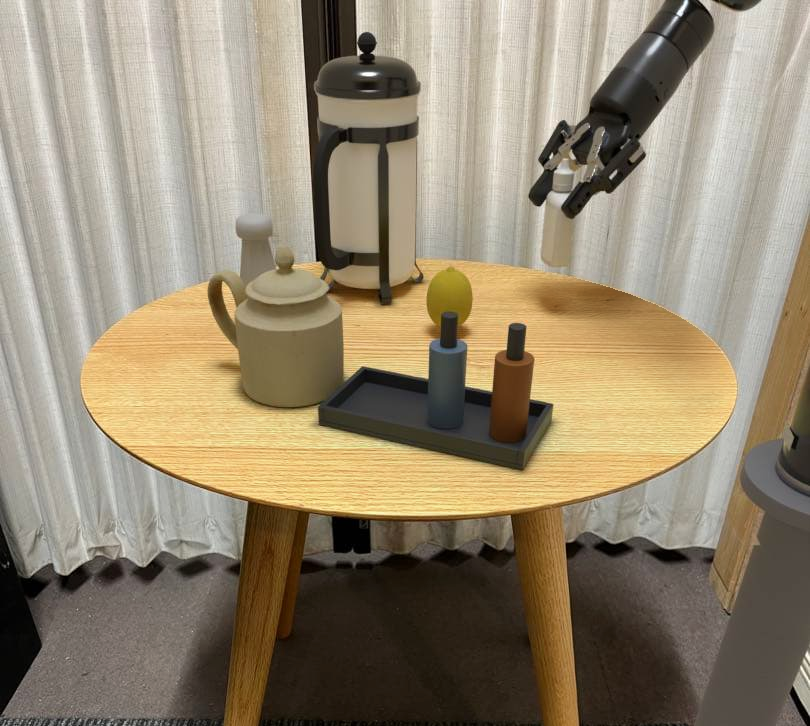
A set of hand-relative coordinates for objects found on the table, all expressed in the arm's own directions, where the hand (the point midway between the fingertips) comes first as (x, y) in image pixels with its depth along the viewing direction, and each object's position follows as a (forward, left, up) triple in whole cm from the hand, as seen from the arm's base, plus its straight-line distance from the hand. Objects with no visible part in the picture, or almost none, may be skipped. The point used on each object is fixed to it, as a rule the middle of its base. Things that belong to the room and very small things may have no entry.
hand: (549, 207), depth 100 cm
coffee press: (+23, +3, -13) cm, 27 cm away
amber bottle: (-6, +34, -12) cm, 36 cm away
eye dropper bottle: (-1, -1, -7) cm, 7 cm away
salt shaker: (+30, +19, -13) cm, 38 cm away
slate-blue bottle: (0, +34, -12) cm, 36 cm away
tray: (+1, +34, -13) cm, 36 cm away
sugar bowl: (+20, +33, -13) cm, 41 cm away
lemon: (+8, +12, -13) cm, 19 cm away
